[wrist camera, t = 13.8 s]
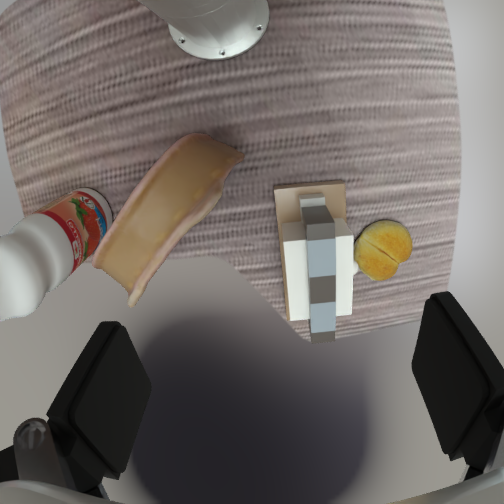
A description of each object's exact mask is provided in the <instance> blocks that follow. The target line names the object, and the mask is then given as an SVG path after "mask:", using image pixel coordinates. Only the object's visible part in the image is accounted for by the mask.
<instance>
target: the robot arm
mask: <svg viewBox="0 0 504 504" xmlns="http://www.w3.org/2000/svg"><path fill="white" fill-rule="evenodd" d="M137 1H138V2H140V3H141V4H143V5H144V6H146V7H147V8H149V9H150V10H151V11H152V12H154V13H155V14H157V15H158V16H159V17H161V18H162V19H163V20H165V21H166V22H167V23H168V27H169V31H170V34H171V36H172V38H173V40H174V41H175V43H176V44H177V45H178V46H179V47H180V48H181V49H182V50H184V51H185V52H187V53H188V54H190V55H192V56H194V57H197V58H200V59H205V60H215V61H218V60H227V59H230V58H234V57H237V56H239V55H241V54H243V53H245V52H247V51H248V50H250V49H251V48H253V47H254V46H255V45H256V44H257V43H258V42H259V41H260V39H261V38H262V36H263V35H264V33H265V31H266V29H267V26H268V22H269V7H268V3H267V0H137ZM258 28H261V30H260V31H258V30H257V29H258ZM183 40H185V42H184V43H182V41H183ZM223 52H225V55H224V56H222V53H223ZM412 371H413V374H414V377H415V379H416V381H417V384H418V386H419V389H420V391H421V394H422V396H423V399H424V402H425V404H426V407H427V409H428V412H429V415H430V417H431V420H432V423H433V425H434V428H435V431H436V434H437V437H438V440H439V442H440V445H441V448H442V451H443V452H444V454H448V455H449V458H450V461H453V460H456V459H458V458H461V457H464V459H465V462H466V467H465V469H464V472H463V474H462V476H461V478H460V481H459V483H458V484H455V485H452V486H449V487H446V488H443V489H440V490H437V491H433V492H430V493H427V494H423V495H420V496H416V497H412V498H409V499H405V500H401V501H397V502H393V503H388V504H504V369H503V367H502V365H501V364H500V362H499V360H498V359H497V357H496V356H495V355H494V353H493V351H492V350H491V348H490V347H489V345H488V344H487V342H486V341H485V339H484V338H483V336H482V335H481V333H479V331H478V329H477V328H476V326H475V325H474V324H473V322H472V321H471V319H470V318H469V317H468V315H467V314H466V312H465V311H464V310H463V308H462V307H461V306H460V304H459V303H458V302H457V300H456V299H455V298H454V297H453V295H452V294H451V293H450V292H448V291H446V292H440V293H434V294H431V296H430V299H427V300H426V302H425V306H424V311H423V316H422V321H421V326H420V330H419V334H418V339H417V344H416V347H415V352H414V355H413V359H412ZM150 393H151V382H150V380H149V378H148V376H147V374H146V372H145V370H144V367H143V365H142V363H141V361H140V359H139V357H138V355H137V352H136V350H135V348H134V346H133V344H132V341H131V339H130V337H129V334H128V332H127V330H126V328H125V327H124V326H122V325H121V324H120V323H119V322H117V321H105V322H101V323H100V324H99V325H98V327H97V329H96V330H95V332H94V334H93V335H92V337H91V338H90V340H89V341H88V343H87V345H86V346H85V348H84V349H83V351H82V353H81V354H80V356H79V358H78V359H77V361H76V363H75V364H74V366H73V368H72V369H71V371H70V373H69V374H68V376H67V378H66V380H65V381H64V383H63V385H62V387H61V388H60V390H59V392H58V394H57V395H56V397H55V399H54V401H53V403H52V404H51V406H50V408H49V410H48V412H47V414H46V415H47V416H48V417H49V420H48V421H47V422H46V421H45V420H44V419H41V418H30V419H27V420H26V421H24V422H23V423H21V424H20V426H18V428H17V430H16V431H15V434H14V437H13V445H12V446H10V447H8V448H6V449H4V450H2V451H0V504H123V503H119V502H115V501H110V499H109V497H108V495H107V493H106V491H105V489H104V486H103V485H102V479H103V476H104V477H107V478H112V479H116V480H119V477H120V473H123V472H124V471H125V469H126V466H127V463H128V460H129V457H130V453H131V450H132V447H133V444H134V441H135V438H136V435H137V432H138V429H139V426H140V423H141V420H142V417H143V414H144V411H145V408H146V405H147V402H148V399H149V396H150Z"/></svg>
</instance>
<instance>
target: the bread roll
mask: <svg viewBox="0 0 504 504" xmlns="http://www.w3.org/2000/svg"><path fill="white" fill-rule="evenodd" d="M411 252H412V239H411V237H410V234H409V232H408V230H407V229H406V228H405V227H404V226H403V225H401V224H400V223H398V222H394V221H389V220H383V221H378V222H375V223H373V224H371V225H370V226H368V227H367V228H366V229H365V230H364V231H363V232H362V234H361V236H360V237H359V238H358V239H357V240H356V242H355V244H354V246H353V260H354V261H356V262H357V263H358V266H359V269H360V270H361V271H362V272H363V273H364V274H366V275H367V276H368V277H369V278H370V279H372V280H373V281H375V280H378V281H381V280H386V279H388V278H390V277H392V276H393V275H394V274H395V273H396V271H397V269H398V265H399V263H402V262H404V261H406V260H407V259H408V258H409V257H410V255H411Z"/></svg>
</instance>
